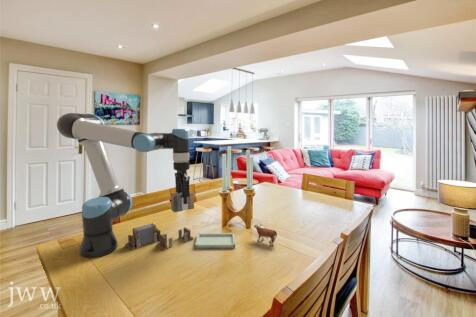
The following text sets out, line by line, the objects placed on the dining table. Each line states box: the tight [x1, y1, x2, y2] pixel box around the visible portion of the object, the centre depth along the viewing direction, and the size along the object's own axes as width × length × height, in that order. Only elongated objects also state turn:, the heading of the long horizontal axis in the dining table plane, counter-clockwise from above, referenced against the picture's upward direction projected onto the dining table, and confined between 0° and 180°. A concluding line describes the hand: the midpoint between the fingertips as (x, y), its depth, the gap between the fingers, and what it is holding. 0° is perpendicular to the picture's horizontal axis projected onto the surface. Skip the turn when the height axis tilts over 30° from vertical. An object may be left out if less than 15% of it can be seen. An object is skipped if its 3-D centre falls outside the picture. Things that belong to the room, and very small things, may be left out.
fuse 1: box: [132, 222, 157, 248], centre depth 122 cm, size 10×4×8 cm, turn 133°
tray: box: [194, 232, 236, 250], centre depth 124 cm, size 19×13×2 cm
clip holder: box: [156, 227, 194, 251], centre depth 123 cm, size 16×6×5 cm, turn 133°
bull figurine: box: [253, 222, 278, 246], centre depth 125 cm, size 4×13×8 cm, turn 51°
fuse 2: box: [170, 190, 195, 213], centre depth 121 cm, size 10×4×8 cm, turn 124°
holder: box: [124, 227, 161, 251], centre depth 122 cm, size 16×6×5 cm, turn 133°
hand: (183, 208), depth 121 cm, fingers closed on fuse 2, 4 cm apart
